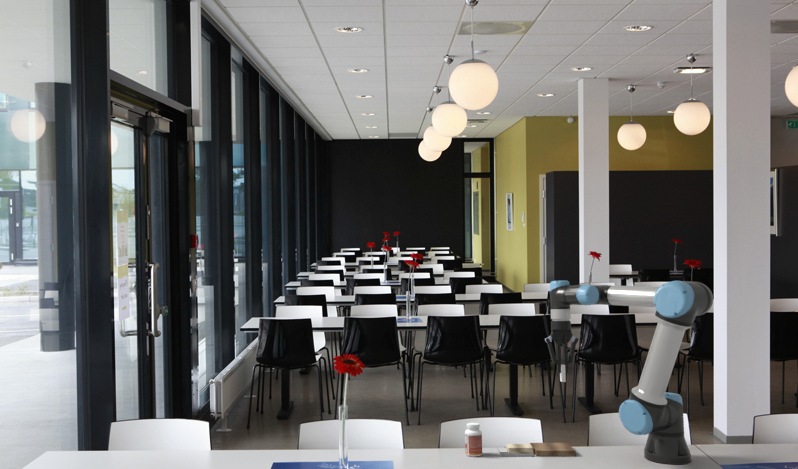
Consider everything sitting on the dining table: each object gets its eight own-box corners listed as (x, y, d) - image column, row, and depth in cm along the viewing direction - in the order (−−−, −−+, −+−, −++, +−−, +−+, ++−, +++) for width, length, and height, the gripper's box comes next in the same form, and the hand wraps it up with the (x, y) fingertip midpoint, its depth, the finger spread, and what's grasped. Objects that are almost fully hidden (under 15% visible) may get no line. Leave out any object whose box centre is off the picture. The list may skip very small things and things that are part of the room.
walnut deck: (567, 448, 230) (567, 442, 230) (575, 456, 218) (575, 450, 218) (530, 448, 230) (530, 442, 230) (536, 456, 218) (536, 450, 218)
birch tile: (530, 449, 227) (530, 443, 227) (533, 453, 221) (533, 447, 221) (506, 449, 227) (505, 444, 227) (508, 453, 221) (508, 447, 221)
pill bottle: (485, 454, 221) (485, 423, 222) (475, 458, 217) (474, 426, 218) (472, 451, 225) (472, 421, 227) (461, 455, 221) (461, 423, 222)
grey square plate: (528, 448, 230) (528, 447, 230) (535, 456, 218) (535, 455, 218) (497, 448, 230) (497, 447, 230) (501, 456, 218) (501, 455, 218)
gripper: (574, 319, 241) (577, 380, 239) (541, 319, 241) (543, 380, 239) (580, 320, 234) (582, 382, 231) (546, 320, 234) (548, 383, 231)
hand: (562, 381), depth 235 cm, fingers closed
